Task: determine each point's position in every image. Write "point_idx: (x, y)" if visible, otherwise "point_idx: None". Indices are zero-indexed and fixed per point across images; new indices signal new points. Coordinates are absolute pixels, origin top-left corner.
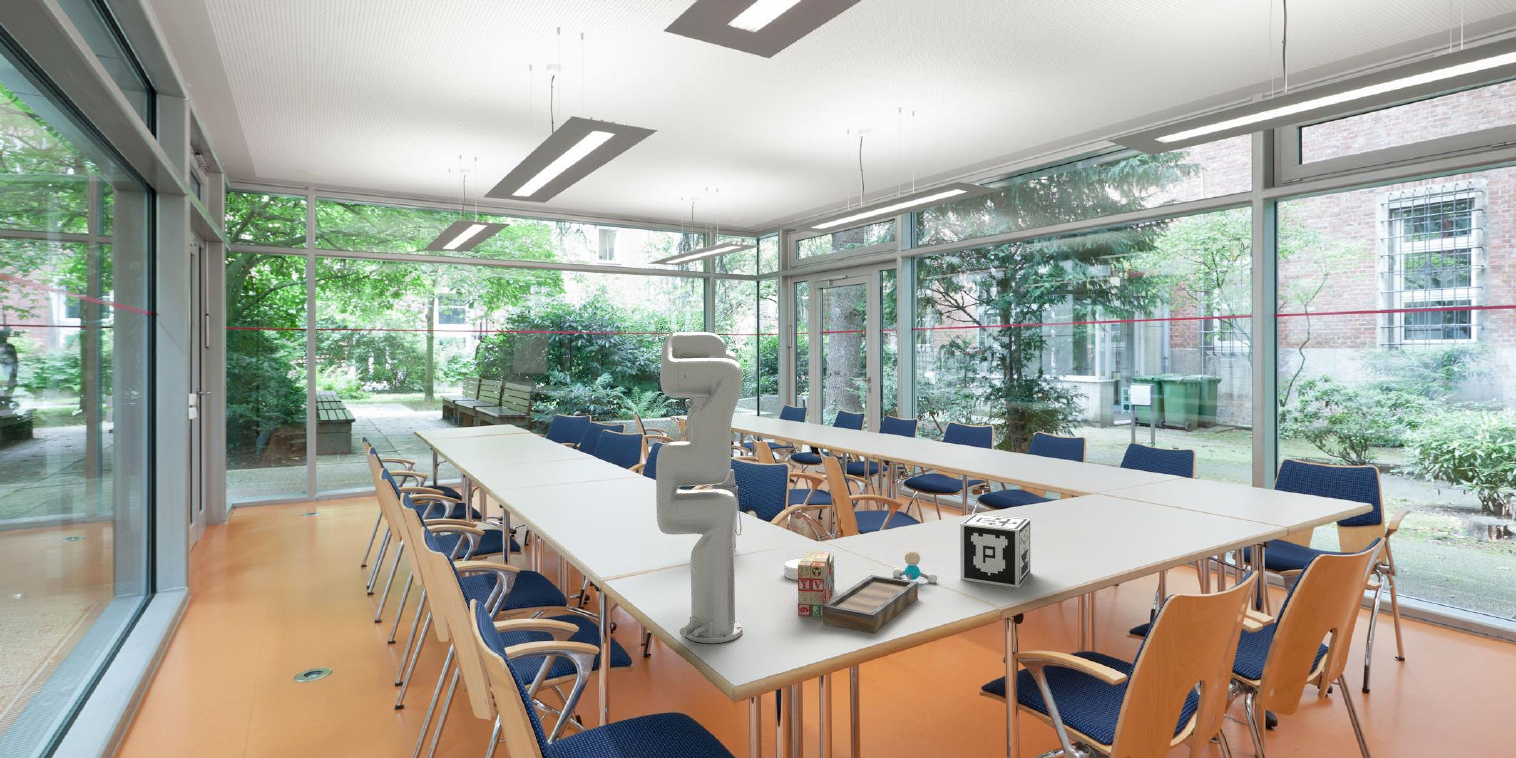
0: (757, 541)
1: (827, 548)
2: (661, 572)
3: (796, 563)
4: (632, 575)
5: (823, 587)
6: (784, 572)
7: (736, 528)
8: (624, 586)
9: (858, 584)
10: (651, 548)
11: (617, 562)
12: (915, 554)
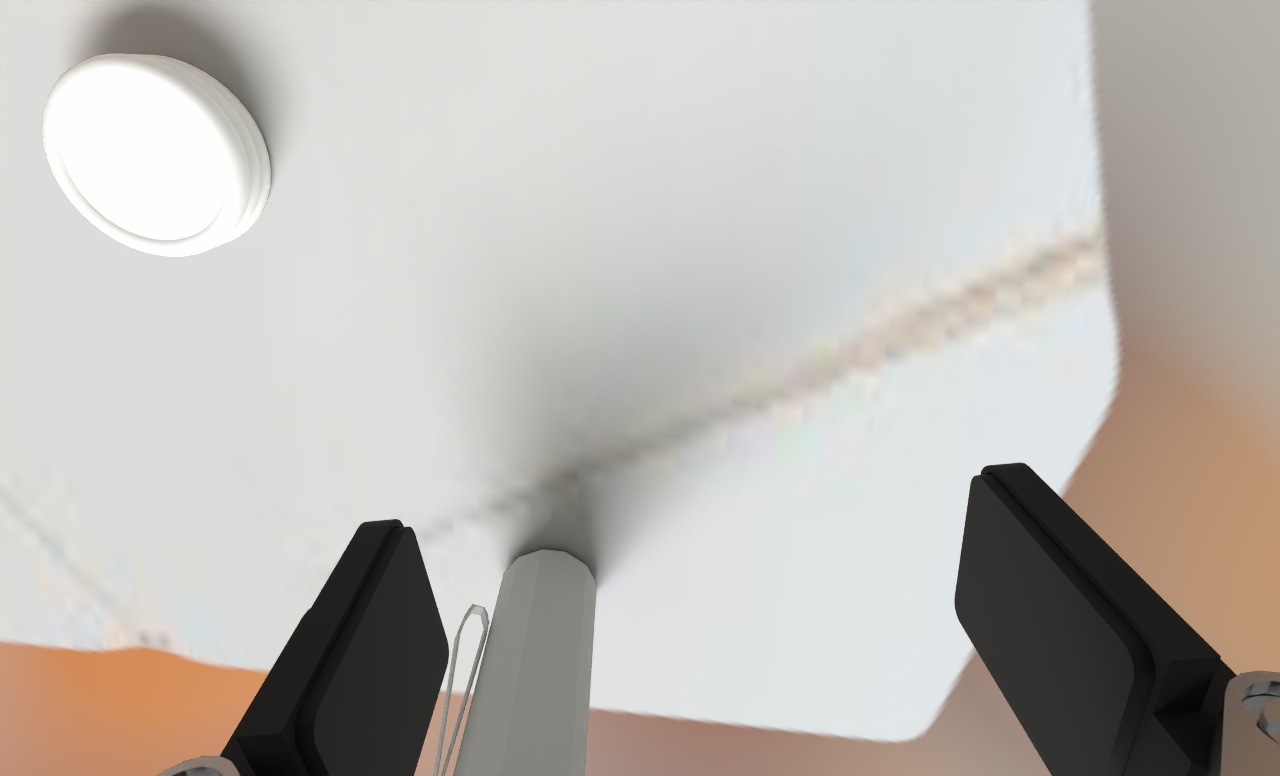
0: None
1: (107, 544)
2: (845, 312)
3: (176, 176)
4: (977, 287)
5: None
6: (266, 178)
7: (481, 637)
8: (1047, 115)
9: None
10: (837, 636)
11: None
12: None
